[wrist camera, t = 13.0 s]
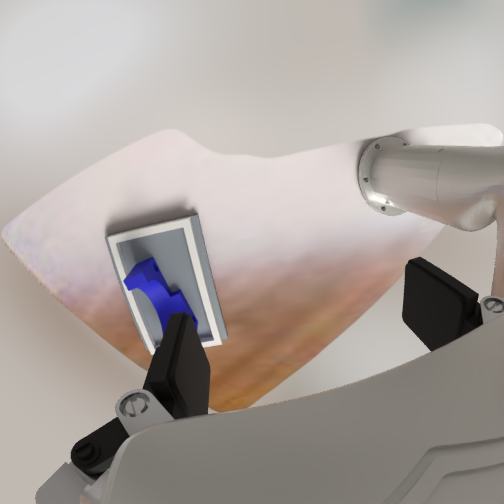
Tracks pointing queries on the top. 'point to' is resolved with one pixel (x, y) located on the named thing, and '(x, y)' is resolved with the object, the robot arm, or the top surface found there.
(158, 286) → the blue long irregular block
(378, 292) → the top surface
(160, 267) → the shallow rectangular tray
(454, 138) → the top surface
